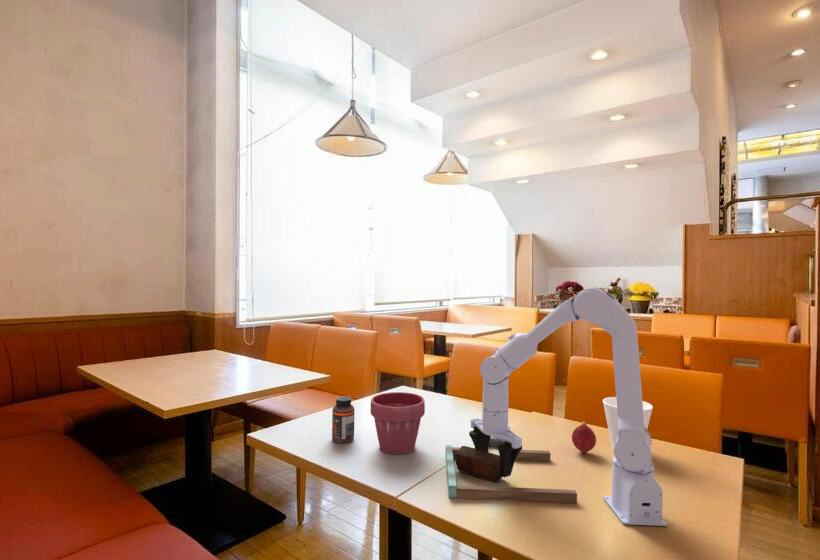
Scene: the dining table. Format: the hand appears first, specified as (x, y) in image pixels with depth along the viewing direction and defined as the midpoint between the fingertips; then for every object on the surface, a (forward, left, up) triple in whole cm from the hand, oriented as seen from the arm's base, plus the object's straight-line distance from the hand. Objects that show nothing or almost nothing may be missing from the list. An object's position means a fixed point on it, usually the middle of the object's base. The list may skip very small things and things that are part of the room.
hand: (494, 468), depth 98 cm
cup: (+18, -37, -2) cm, 41 cm away
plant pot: (+14, +23, -2) cm, 27 cm away
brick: (0, +3, -1) cm, 3 cm away
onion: (+15, -25, -2) cm, 29 cm away
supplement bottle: (+18, +38, -2) cm, 42 cm away
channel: (+4, -2, -2) cm, 5 cm away
